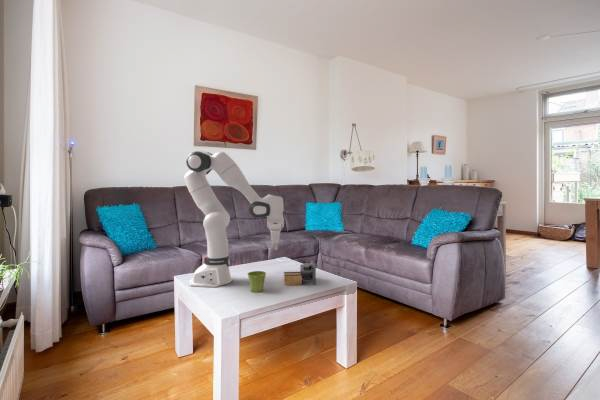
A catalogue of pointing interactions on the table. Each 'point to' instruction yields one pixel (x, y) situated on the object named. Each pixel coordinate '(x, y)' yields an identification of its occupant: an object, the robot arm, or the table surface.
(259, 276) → the plant pot
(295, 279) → the block
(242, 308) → the table surface
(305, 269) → the bracket
